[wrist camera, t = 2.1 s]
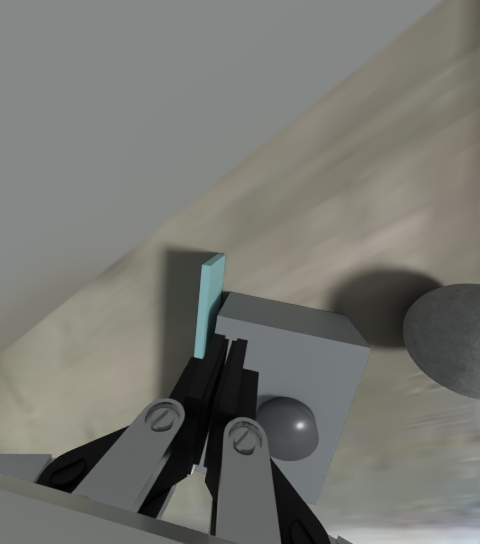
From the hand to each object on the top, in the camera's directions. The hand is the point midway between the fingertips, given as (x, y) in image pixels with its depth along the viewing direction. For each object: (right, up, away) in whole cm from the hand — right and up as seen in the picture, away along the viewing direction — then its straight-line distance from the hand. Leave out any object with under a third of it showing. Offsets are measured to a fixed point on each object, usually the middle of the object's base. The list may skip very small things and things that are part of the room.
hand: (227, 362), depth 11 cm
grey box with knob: (+5, -9, +19) cm, 21 cm away
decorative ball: (+22, 0, +15) cm, 27 cm away
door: (-3, -6, +19) cm, 20 cm away
